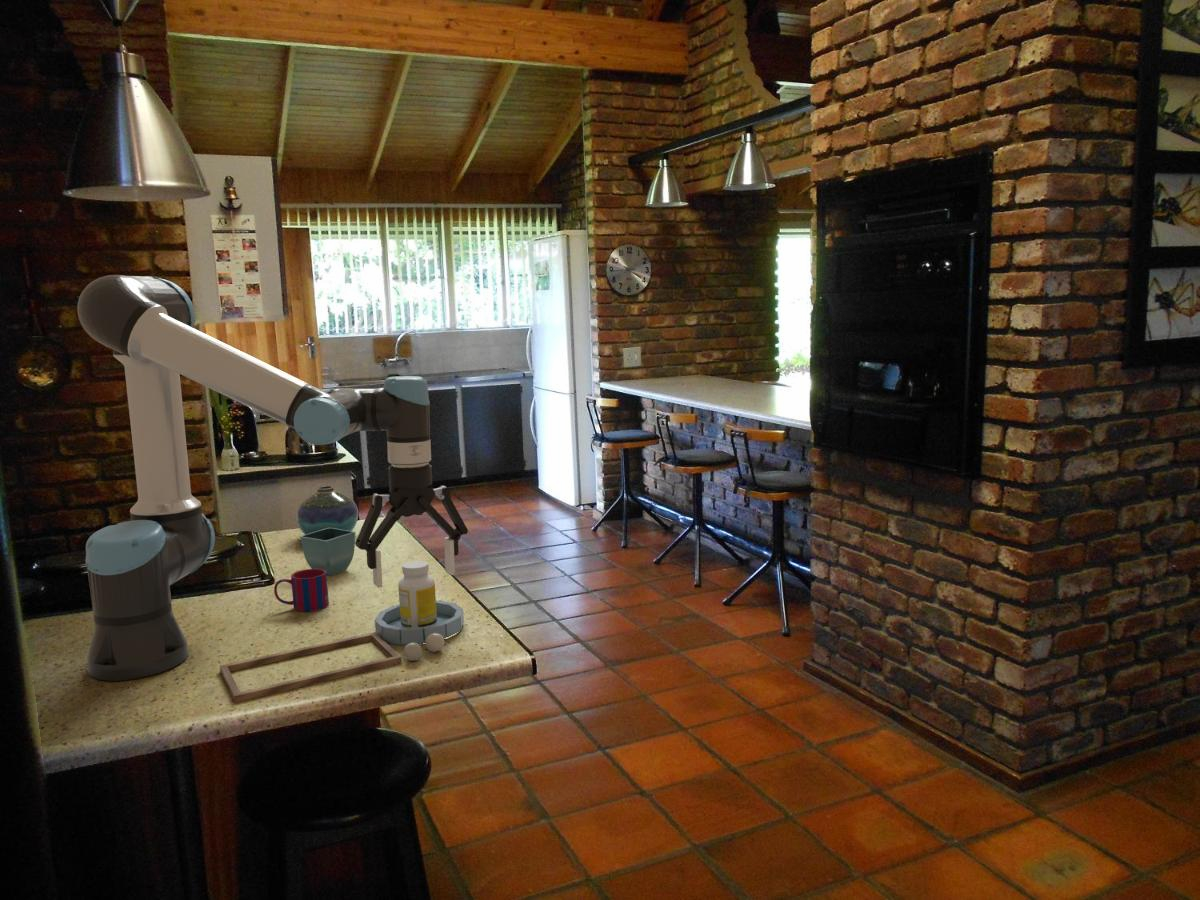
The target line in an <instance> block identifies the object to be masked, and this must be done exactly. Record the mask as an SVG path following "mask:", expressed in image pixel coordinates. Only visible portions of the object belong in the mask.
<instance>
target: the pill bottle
mask: <svg viewBox="0 0 1200 900" xmlns="http://www.w3.org/2000/svg"><path fill="white" fill-rule="evenodd" d="M429 568H430V566H429V563H428V562H427V561H424V560H414V561H408V562H407V561H406V562H405V563H403V564H401V571H402V574H403V577H401V578H400V579H399V581H398V599H399V600H398V601H399V604H400V615H401V625H402V627H403V628H406V627H425V626H429V625H434V624H436V623H437V612H436V600H437V598H436V585H435V584H436V581H435V579H434V577H433V576H431V575H430V574H428V572H429V571H430V570H429Z"/></svg>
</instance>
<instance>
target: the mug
mask: <svg viewBox="0 0 1200 900" xmlns="http://www.w3.org/2000/svg"><path fill="white" fill-rule="evenodd" d="M327 576H328V575H327V573H326V571H325V570H323V569H311V568H308V569H301V570H298V571H295V572H293V573H292V574H291V575H290V577H291V578H290V579H289V578H282V579H279V580H277V581H276V582H275V584H274V587H273V591H274V596H275V598H276V599H277V601H278V602H280V603H282V604H284V605H289V606H293V610H294V611H297V612H304V613H306V612H317V611H319V610H323V609H325V608H327V607H328V606H329V605H330V603H329V602H330V599H329V588H328V587H329V586H328V577H327ZM283 582H284V583H285V582H286V583H288V584H290V585H291V593H292V600H284V599H282V598H280V596H279V595H278V586H279V584H280V583H281V584H282V583H283Z"/></svg>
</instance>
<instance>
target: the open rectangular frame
mask: <svg viewBox="0 0 1200 900" xmlns="http://www.w3.org/2000/svg"><path fill="white" fill-rule="evenodd" d="M370 641H372V642H373V643H374V644H375V645H376V646H377V647H378V648H379V649H380V650H381V651H382V652H383V653H384V654H385V655H386V656H387V658H382V659H378V660H374V661H369V662H363V663H359V664H356V665H351V666H347V667H344V668H339V669H335V670H329V671H326V672H322V673H317V674H313V675H308V676H304V677H300V678H297V679H292V680H288V681H287V680H286V681H284V682H279V683H275V684H269V685H266V686H261V687H256V688H253V689H248V690H244V691H240V689H239V687H238V684H237V683H236V681H235V679H234V676H233V675H232V672H234V671H238V670H243V669H248V668H253V667H257V666H262V665H266V664H271V663H274V662H280V661H285V660H289V659H293V658H299V657H303V656H307V655H313V654H316V653H320V652H321V653H322V652H325V651H330V650H334V649H339V648H344V647H349V646H352V645H358V644H361V643H365V642H370ZM388 656H389V657H390V658H389V657H388ZM402 660H403V659H402V656H401V655H400V654H399V653H398V652H397V651H395V649H394V648H393V647H392V646H390V645H389V643H386V642H385V641H384V640H383V639H382V638H381V637H380V636H379V635H378V634H377V633H376V631H375V632H370V633H366V634H359V635H356V636H351V637H346V638H342V639H337V640H332V641H328V642H323V643H319V644H314V645H309V646H306V647H300V648H295V649H291V650H287V651H286V650H285V651H282V652H277V653H273V654H267V655H264V656H258V657H255V658H249V659H245V660H240V661H236V662H231V663H226V664H222V665H219V670H220V674H221V676H222V678H223V680H224V682H225V684H226V686H227V688H228V690H229V692H230V695H231V697H232V699H233V701H234V703H239V702H243V701H246V700H251V699H252V700H253V699H256V698H260V697H264V696H267V695H273V694H276V693H281V692H285V691H290V690H292V689H298V688H301V687H306V686H310V685H314V684H319V683H323V682H327V681H331V680H335V679H339V678H344V677H349V676H353V675H356V674H357V675H358V674H360V673H365V672H369V671H373V669H374V670H377V668H378V669H381V668H385V666H387V667H390V666H389V665H391V666H394V665H393V664H395V665H397V664H396V663H399V664H401V663H400V662H403V661H402Z"/></svg>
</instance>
